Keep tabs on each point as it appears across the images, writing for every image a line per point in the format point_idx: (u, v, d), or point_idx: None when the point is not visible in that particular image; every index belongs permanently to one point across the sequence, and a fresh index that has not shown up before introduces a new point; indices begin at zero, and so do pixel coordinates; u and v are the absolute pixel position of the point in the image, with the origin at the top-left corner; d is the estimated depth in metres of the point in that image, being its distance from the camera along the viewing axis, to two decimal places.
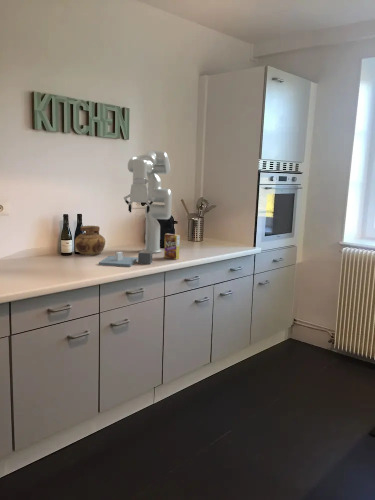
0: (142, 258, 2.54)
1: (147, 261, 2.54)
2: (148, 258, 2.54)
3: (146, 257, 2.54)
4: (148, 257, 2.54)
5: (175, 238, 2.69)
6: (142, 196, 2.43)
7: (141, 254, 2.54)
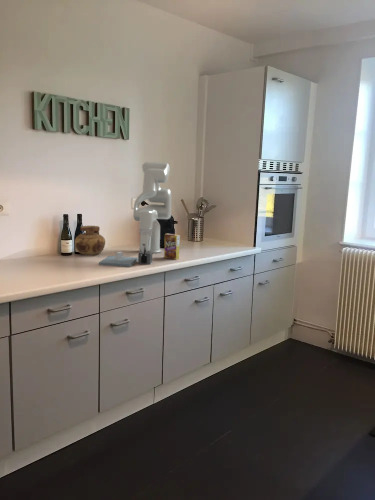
0: None
1: (147, 261, 2.54)
2: (148, 258, 2.54)
3: None
4: (148, 257, 2.54)
5: (175, 238, 2.69)
6: (150, 244, 2.58)
7: None
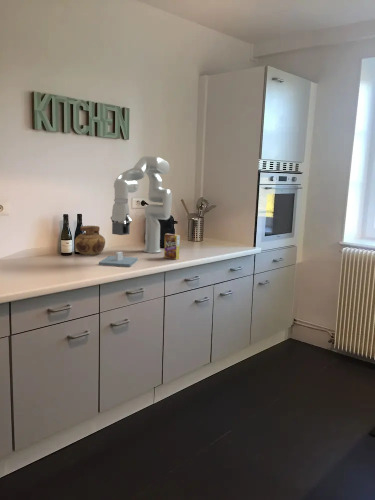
0: None
1: None
2: (128, 228, 2.53)
3: None
4: (128, 227, 2.53)
5: (175, 238, 2.69)
6: None
7: (123, 225, 2.50)
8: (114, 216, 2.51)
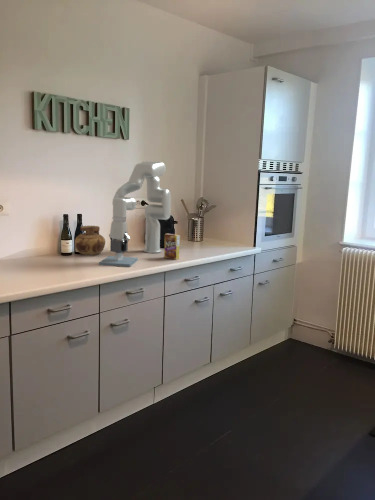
0: None
1: None
2: (126, 245, 2.55)
3: None
4: (126, 244, 2.55)
5: (175, 238, 2.69)
6: None
7: (121, 242, 2.51)
8: (112, 234, 2.53)
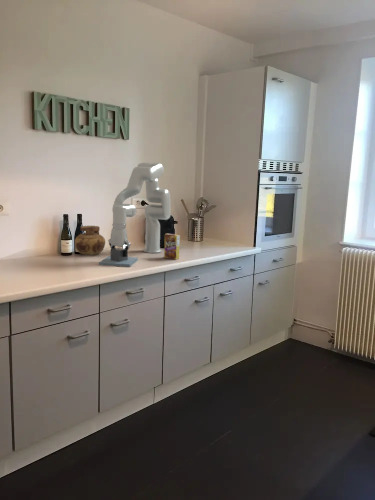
0: (122, 255, 2.53)
1: (125, 257, 2.56)
2: None
3: None
4: None
5: (175, 238, 2.69)
6: None
7: (121, 251, 2.52)
8: (112, 241, 2.54)
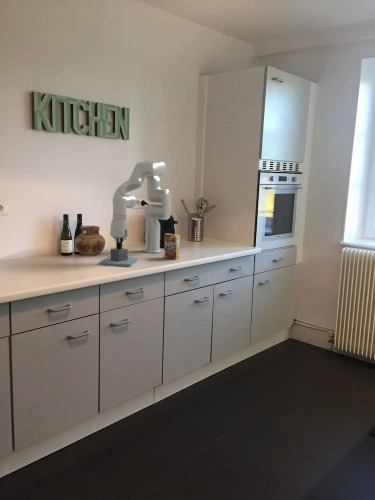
0: (122, 255, 2.53)
1: (125, 257, 2.56)
2: (126, 254, 2.56)
3: (125, 253, 2.55)
4: (126, 253, 2.56)
5: (175, 238, 2.69)
6: None
7: (121, 251, 2.52)
8: (112, 232, 2.53)
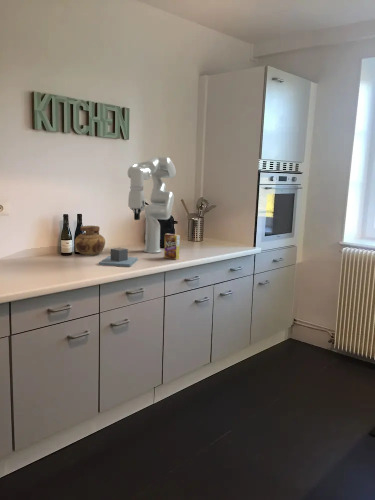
0: (122, 255, 2.53)
1: (125, 257, 2.56)
2: (126, 254, 2.56)
3: (125, 253, 2.55)
4: (126, 253, 2.56)
5: (175, 238, 2.69)
6: None
7: (121, 251, 2.52)
8: (130, 203, 2.61)
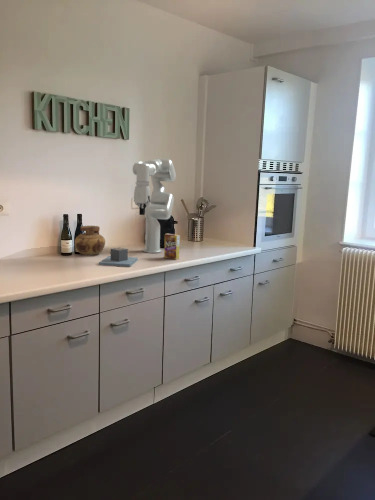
0: (122, 255, 2.53)
1: (125, 257, 2.56)
2: (126, 254, 2.56)
3: (125, 253, 2.55)
4: (126, 253, 2.56)
5: (175, 238, 2.69)
6: None
7: (121, 251, 2.52)
8: (136, 198, 2.63)
